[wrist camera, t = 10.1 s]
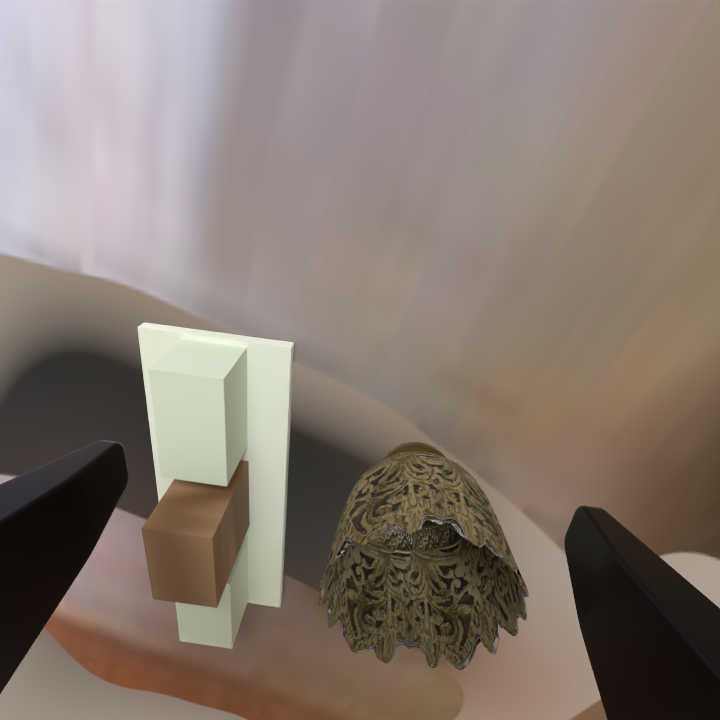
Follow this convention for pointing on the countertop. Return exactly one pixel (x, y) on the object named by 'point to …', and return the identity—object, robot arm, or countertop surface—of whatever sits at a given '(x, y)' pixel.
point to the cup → (421, 562)
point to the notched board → (257, 454)
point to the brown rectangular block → (196, 538)
